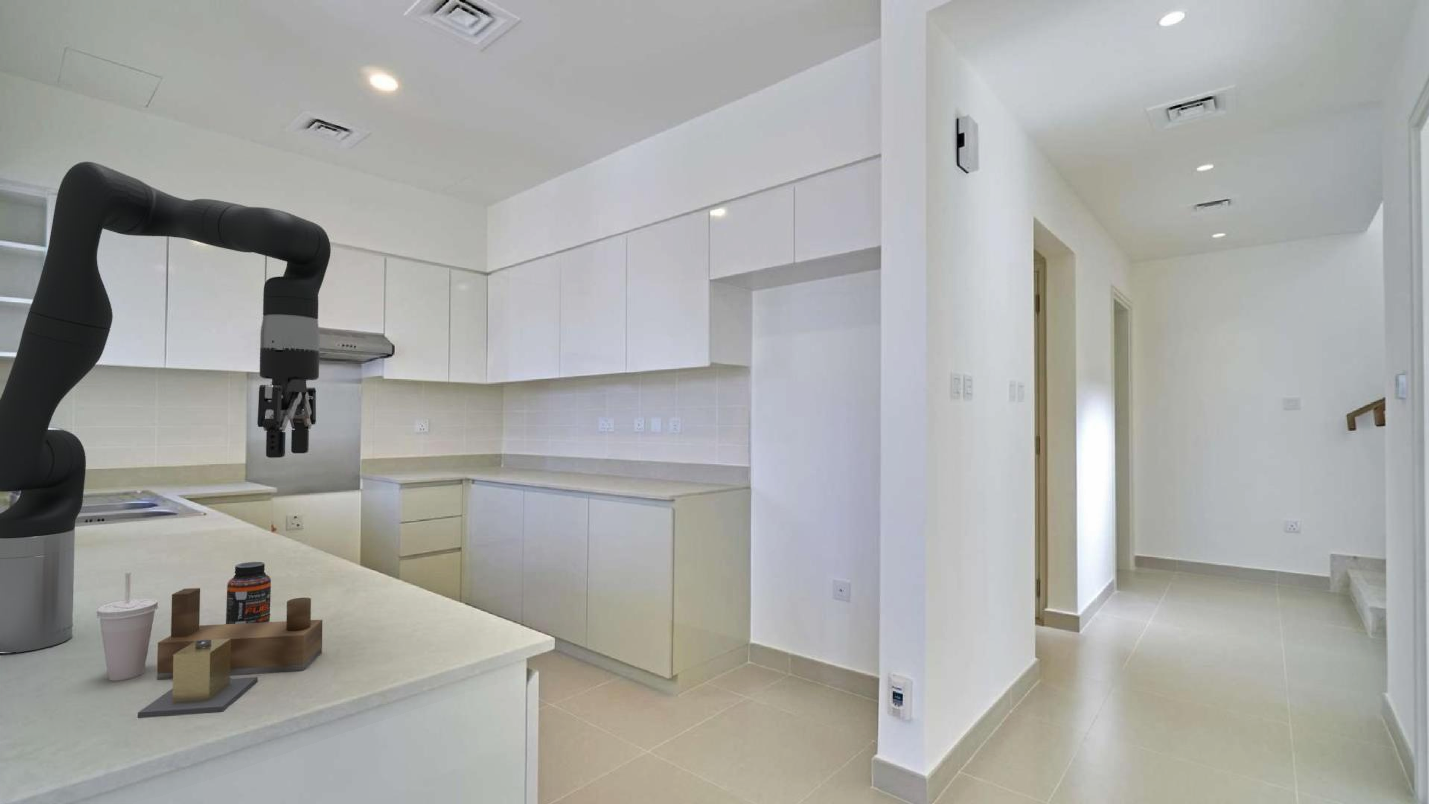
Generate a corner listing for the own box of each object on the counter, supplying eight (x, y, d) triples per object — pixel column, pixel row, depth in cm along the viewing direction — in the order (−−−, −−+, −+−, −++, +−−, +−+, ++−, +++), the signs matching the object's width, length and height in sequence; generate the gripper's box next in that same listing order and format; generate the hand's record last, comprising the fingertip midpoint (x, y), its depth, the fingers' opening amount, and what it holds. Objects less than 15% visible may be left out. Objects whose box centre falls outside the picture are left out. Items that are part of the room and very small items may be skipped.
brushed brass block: (172, 703, 81) (173, 649, 81) (195, 686, 86) (196, 635, 86) (209, 700, 82) (210, 647, 82) (229, 684, 87) (231, 634, 87)
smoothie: (151, 662, 95) (153, 565, 95) (161, 674, 91) (164, 573, 91) (90, 675, 90) (93, 574, 90) (99, 688, 86) (101, 582, 86)
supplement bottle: (246, 640, 105) (248, 569, 105) (215, 637, 106) (217, 567, 106) (278, 628, 110) (280, 561, 111) (249, 625, 112) (250, 559, 112)
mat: (137, 717, 79) (137, 712, 79) (181, 686, 87) (181, 681, 87) (222, 711, 80) (222, 706, 80) (257, 681, 89) (257, 677, 89)
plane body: (156, 679, 89) (158, 598, 89) (186, 660, 96) (188, 585, 96) (303, 670, 93) (304, 592, 93) (321, 652, 100) (323, 580, 100)
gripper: (283, 351, 105) (281, 452, 105) (238, 342, 91) (236, 459, 91) (334, 352, 107) (332, 452, 107) (298, 344, 93) (296, 458, 93)
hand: (288, 455), depth 99 cm, fingers open, 8 cm apart
